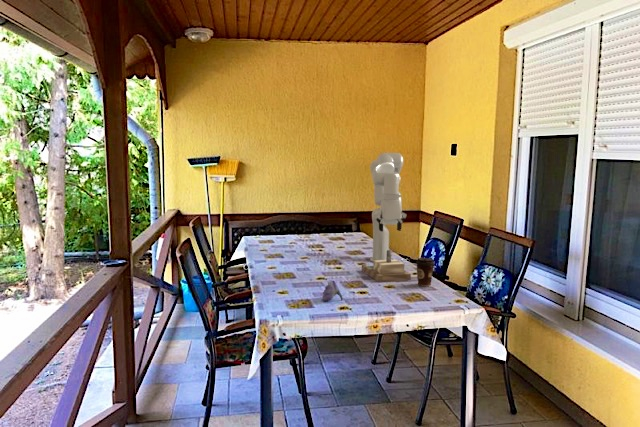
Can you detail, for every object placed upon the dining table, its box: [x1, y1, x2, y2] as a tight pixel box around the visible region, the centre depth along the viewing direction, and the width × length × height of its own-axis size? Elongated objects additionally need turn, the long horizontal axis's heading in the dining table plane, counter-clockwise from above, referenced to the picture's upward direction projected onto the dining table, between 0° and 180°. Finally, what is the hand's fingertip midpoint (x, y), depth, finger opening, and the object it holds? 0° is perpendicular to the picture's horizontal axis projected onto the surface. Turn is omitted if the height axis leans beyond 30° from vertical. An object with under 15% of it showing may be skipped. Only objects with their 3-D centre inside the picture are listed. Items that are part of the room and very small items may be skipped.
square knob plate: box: [373, 249, 405, 275], centre depth 250 cm, size 12×12×13 cm
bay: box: [361, 264, 412, 283], centre depth 255 cm, size 26×17×3 cm, turn 14°
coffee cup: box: [415, 257, 435, 287], centre depth 235 cm, size 9×8×13 cm
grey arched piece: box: [321, 280, 344, 302], centre depth 210 cm, size 9×9×10 cm
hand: (390, 230), depth 248 cm, fingers open, 9 cm apart
